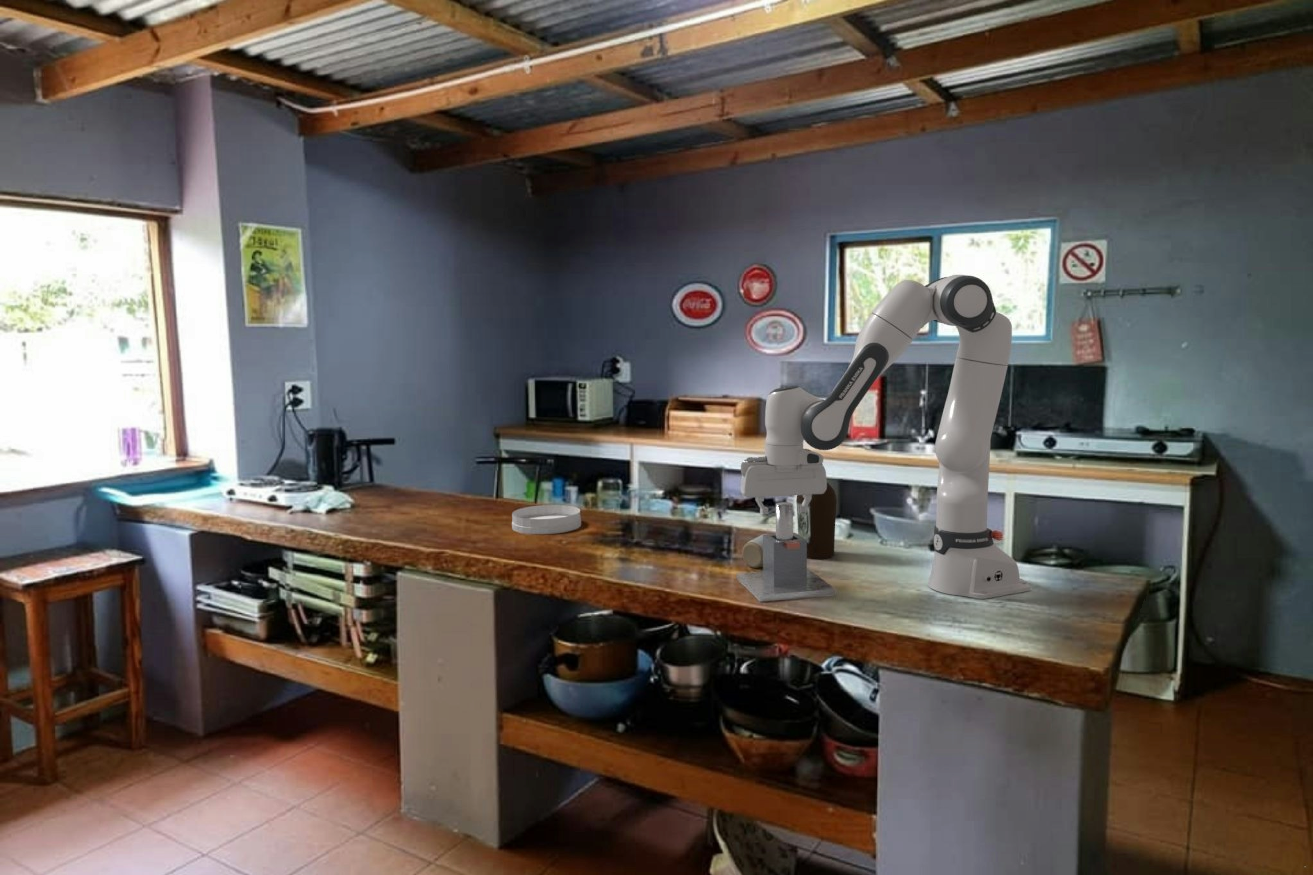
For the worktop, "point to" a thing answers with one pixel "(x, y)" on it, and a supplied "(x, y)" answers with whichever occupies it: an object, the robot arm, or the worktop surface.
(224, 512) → the worktop surface
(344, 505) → the worktop surface
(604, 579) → the worktop surface
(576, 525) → the dish
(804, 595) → the stand base
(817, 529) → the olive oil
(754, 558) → the ceramic mug
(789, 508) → the grey green banded cylinder
